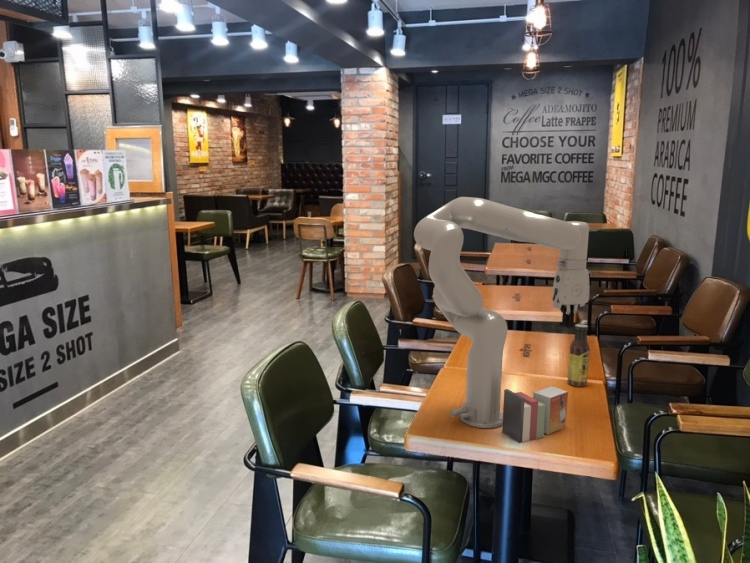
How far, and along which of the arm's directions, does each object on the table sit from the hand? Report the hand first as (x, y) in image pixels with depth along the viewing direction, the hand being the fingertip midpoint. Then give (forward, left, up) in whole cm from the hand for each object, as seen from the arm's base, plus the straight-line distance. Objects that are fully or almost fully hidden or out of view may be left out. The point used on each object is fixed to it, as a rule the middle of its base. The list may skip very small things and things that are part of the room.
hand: (567, 326), depth 170 cm
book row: (-24, -12, -24) cm, 36 cm away
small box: (-15, -11, -25) cm, 31 cm away
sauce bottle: (+17, +11, -24) cm, 32 cm away
